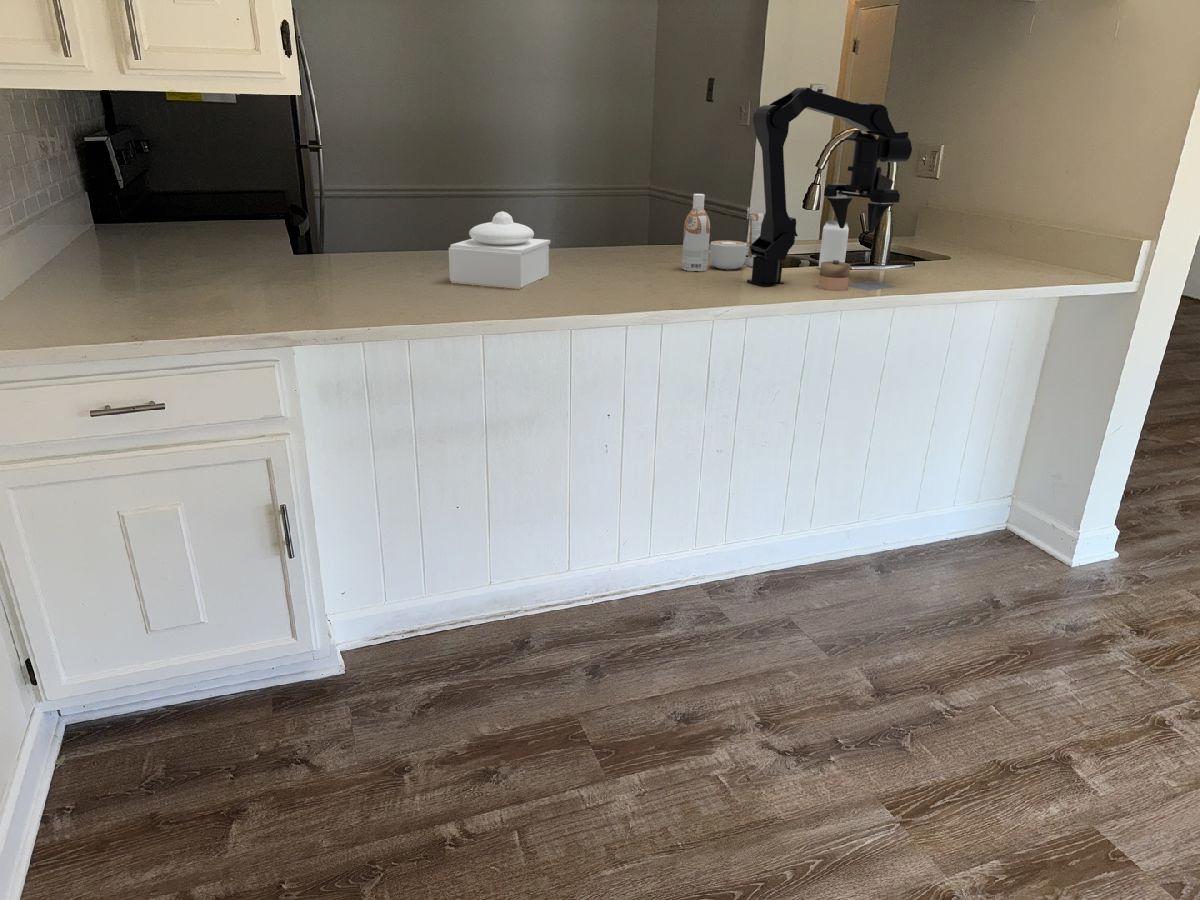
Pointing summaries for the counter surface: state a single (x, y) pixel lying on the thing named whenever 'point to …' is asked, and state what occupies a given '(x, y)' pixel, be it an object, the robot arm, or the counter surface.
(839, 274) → the lid
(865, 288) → the mat
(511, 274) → the white lidded container
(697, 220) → the cosmetic set
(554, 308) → the counter surface
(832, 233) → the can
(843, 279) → the bowl
